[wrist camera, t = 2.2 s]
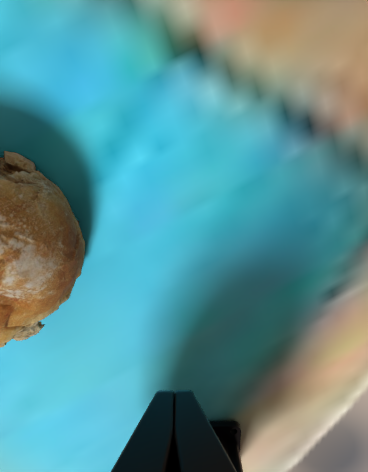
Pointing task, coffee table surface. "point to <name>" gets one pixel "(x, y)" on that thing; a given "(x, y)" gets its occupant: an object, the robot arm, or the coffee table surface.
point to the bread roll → (34, 248)
